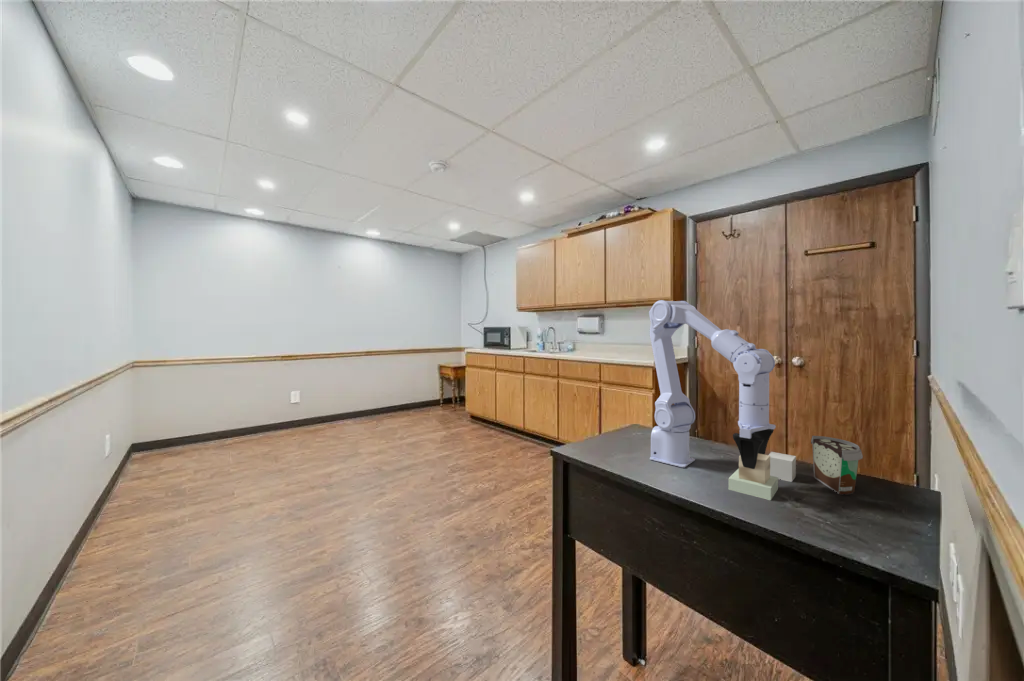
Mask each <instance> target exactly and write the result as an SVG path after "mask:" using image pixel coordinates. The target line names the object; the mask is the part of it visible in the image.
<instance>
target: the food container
mask: <svg viewBox="0 0 1024 681" xmlns="http://www.w3.org/2000/svg"><path fill="white" fill-rule="evenodd" d="M810 444H811V446H812V463H813V478H814V479H815V480H817V481H819V482H820V483H821V484H822V485H824V486H826V487H827V488H829V489H830V490H832V491H833V490H834V491H833V492H835V493H836V492H837V493H836V494H837V495H843V494H845V495H852V494H854V493H855V489H856V482H857V475H858V474H857V473H858V465H859V461H860V460H863V456H864V455H863V453H862V449H861V448H860V446H859V445H858V444H857V443H854V442H851V441H848V440H844V439H841V438H837V437H836V438H835V437H830V436H823V435H812V436H811V439H810ZM853 492H854V493H853ZM851 493H852V494H851Z"/></svg>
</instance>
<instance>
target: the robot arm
mask: <svg viewBox="0 0 1024 681" xmlns="http://www.w3.org/2000/svg"><path fill="white" fill-rule="evenodd" d="M648 315H649V320H650V326H649V327H650V328H649V337H650V338H649V339H650V343H651V349H652V354H653V359H654V364H655V365H654V367H655V370H656V376H657V377H656V378H657V382H658V387H659V391H660V392H659V393H660V395H659V397H658V398H657V399H656V401H655V402H654V407H655V411H654V421H655V423H656V425H655V426H654V427H653V428H652V430H651V434H650V457H649V460H650V461H655V462H658V463H663V464H667V465H671V466H676V467H679V468H686V467H687V466H688V465H690V464H692V463H693V462H695V460H696V458H694V457H690V429H691V427H692V426H691V425H693V424H694V423H695V421H696V412H695V409H694V408H693V406H692V404H691V403H690V402H691V400H690V398H689V397H688V396H687V395H686V394H684V393H683V391H682V387H681V386H682V385H681V382H680V375H679V371H678V365H677V360H676V355H675V349H674V344H673V340H672V336H673V335H674V334H675V333H676V331H677V330H679V329H680V328H681V327H682V326H684V325H685V324H686V325H687V326H689V327H690V328H691V329H694V330H695V331H696V332H698V333H699V334H701V335H702V336H704V337H706V338H707V339H708V340H709V341H711V342H710V344H711V348H712V349H713V350H715V351H716V352H717V353H719V354H720V355H721V356H722V357H724V358H725V359H727V361H729V362H730V363H732V365H733V369H734V370H735V372H736V374H737V375H738V378H737V379H738V386H739V387H738V394H739V395H738V420H737V425H738V427H739V433H737V432H734V433H733V434H732V439H733V440H734V443H735V445H737V449H738V451H739V456H741V460H742V464H743V467H746V468H751V469H755V466H756V463H757V457H758V453H759V454H764V455H766V451H767V446H768V444H769V440H770V438H771V436H772V435H773V433H774V431H775V429H777V428H776V424H774V423H773V424H771V423H770V373H771V372H772V371H773V370H774V368H775V365H776V361H775V357H774V356H773V355H772V354H771V352H770V351H769V350H768V349H765V348H757V347H756V344H754V343H753V342H749V341H747V340H745V338H742V337H741V336H740V335H739V334H740V333H739V331H737V330H736V329H729V328H726V329H721V328H720V327H719V326H717V325H716V324H714V323H713V322H712V321H711V320H710V319H708V318H707V317H706V316H705V315H704V314H702V313H701V312H700V311H698V310H697V308H696V307H695V306H694V305H692V304H690V303H689V302H688V301H686V300H677V301H675V300H663V299H661V300H657V301H655V302H654V303H653V305H652V306H651V308H650V309H649V311H648Z"/></svg>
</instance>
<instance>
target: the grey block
mask: <svg viewBox="0 0 1024 681" xmlns="http://www.w3.org/2000/svg"><path fill="white" fill-rule="evenodd" d="M768 455H769V456H770V476H775V477H778V480H780V479H781V480H780V481H786V482H791V483H792V482H793V481H794V480H795V478H796V476H797V471H796V470H797V469H796V468H797V466H796V465H797V456H796V455H791V454H785V453H781V452H775V451H770V453H769V454H768Z"/></svg>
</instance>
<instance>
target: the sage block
mask: <svg viewBox="0 0 1024 681" xmlns="http://www.w3.org/2000/svg"><path fill="white" fill-rule="evenodd" d="M778 489H779V479H778V477H775V476H770V478H769V480H768V481H767V482H766V483H765V484H762V483H758V482H754V481H749V480H745V479H741V478H739V468H737V469H736V470H735V471H734V472H733V473H732V474H731V475H730V476H729V477H728V490H729V491H733V492H736V493H740V494H744V495H748V496H752V497H756V498H760V499H765V500H767V501H771V500H772V499H773V498H774V496H775V495H776V493H777V491H778Z"/></svg>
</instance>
